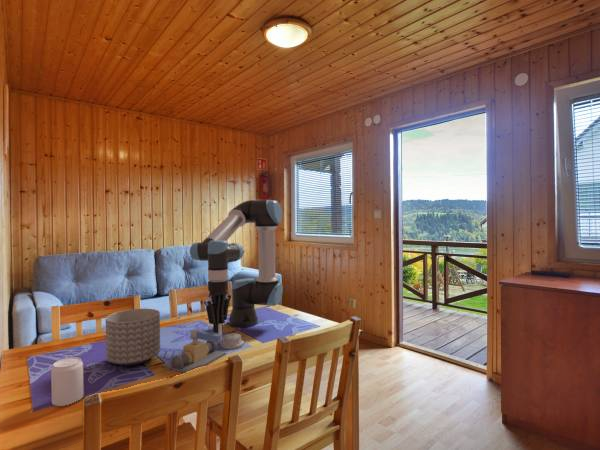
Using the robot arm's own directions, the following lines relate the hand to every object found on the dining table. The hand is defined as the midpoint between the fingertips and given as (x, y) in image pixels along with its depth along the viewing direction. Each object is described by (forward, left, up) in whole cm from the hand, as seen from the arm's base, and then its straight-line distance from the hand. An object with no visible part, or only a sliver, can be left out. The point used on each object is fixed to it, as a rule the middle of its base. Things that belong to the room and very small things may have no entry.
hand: (218, 340), depth 137 cm
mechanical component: (-16, -5, -9) cm, 19 cm away
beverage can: (+44, -22, -8) cm, 50 cm away
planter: (+15, -29, -8) cm, 34 cm away
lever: (+4, -3, +1) cm, 5 cm away
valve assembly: (+4, -8, -8) cm, 12 cm away
